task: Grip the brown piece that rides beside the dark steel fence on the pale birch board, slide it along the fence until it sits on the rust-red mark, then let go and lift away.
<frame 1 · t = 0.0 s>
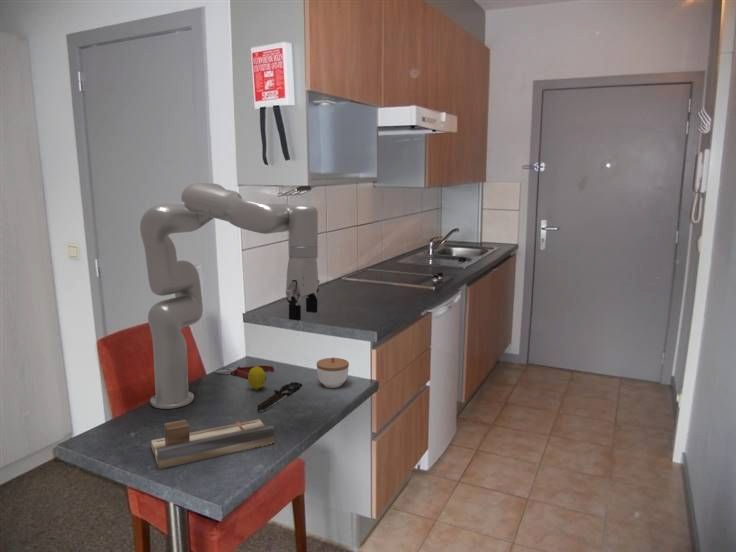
hand: (303, 315, 146), 31 cm above the table, tool pointing down, fingers open, 9 cm apart
lemon: (256, 390, 178), on the table
lidded jar: (332, 385, 183), on the table
pliers: (247, 375, 193), on the table
knife: (279, 399, 171), on the table
brown piece: (175, 432, 134), point 5 cm above the table, slide at -9.0 cm
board: (213, 445, 139), on the table
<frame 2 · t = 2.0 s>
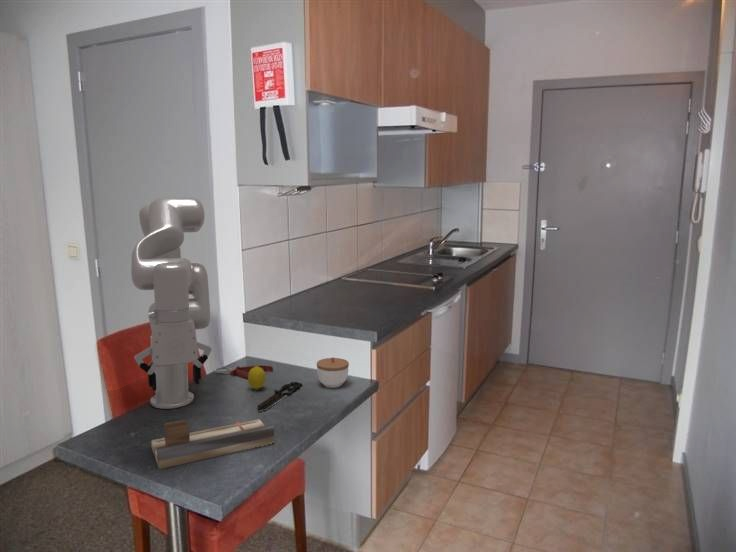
hand: (175, 385, 130), 18 cm above the table, tool pointing down, fingers open, 9 cm apart
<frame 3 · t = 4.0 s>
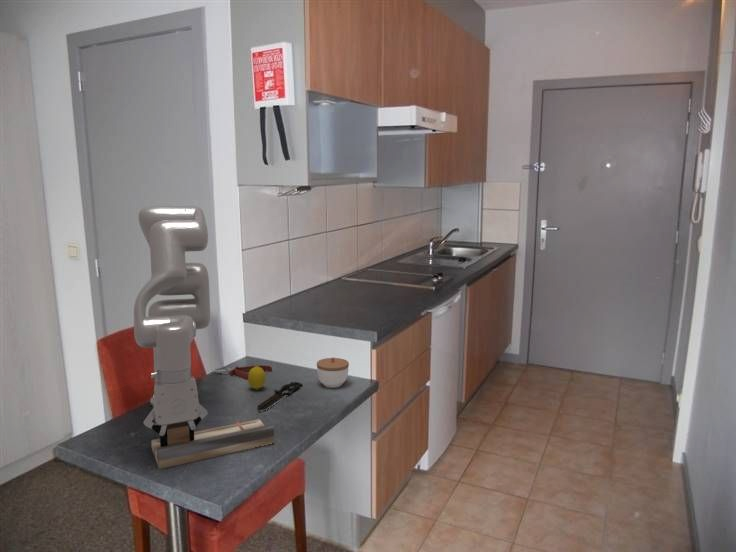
hand: (177, 445, 132), 3 cm above the table, tool pointing down, fingers closed on brown piece, 5 cm apart
brown piece: (175, 432, 134), point 5 cm above the table, slide at -9.0 cm, touching gripper
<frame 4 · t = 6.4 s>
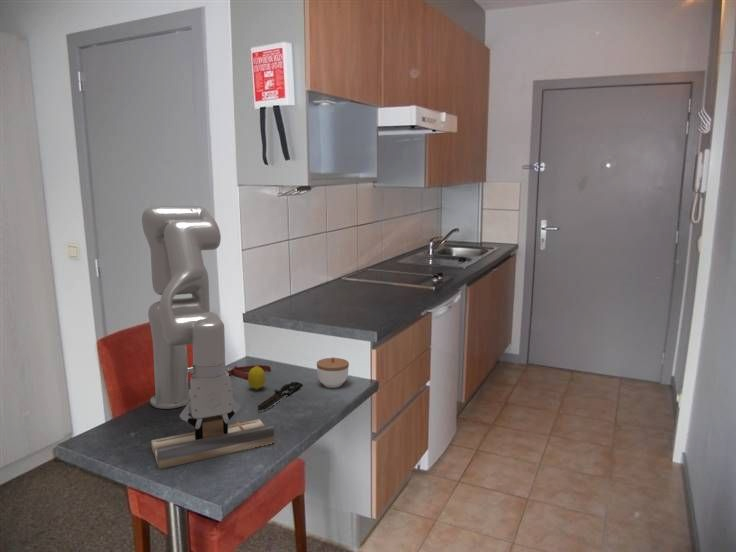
hand: (211, 438, 136), 3 cm above the table, tool pointing down, fingers closed on brown piece, 5 cm apart
brown piece: (209, 425, 138), point 5 cm above the table, slide at -0.8 cm, touching gripper
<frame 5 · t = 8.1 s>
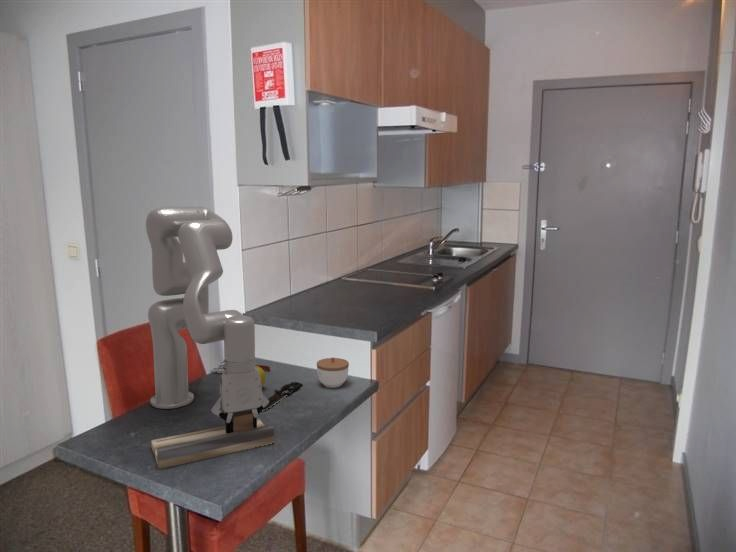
hand: (241, 432, 140), 3 cm above the table, tool pointing down, fingers closed on brown piece, 5 cm apart
brown piece: (238, 420, 142), point 5 cm above the table, slide at 6.8 cm, touching gripper
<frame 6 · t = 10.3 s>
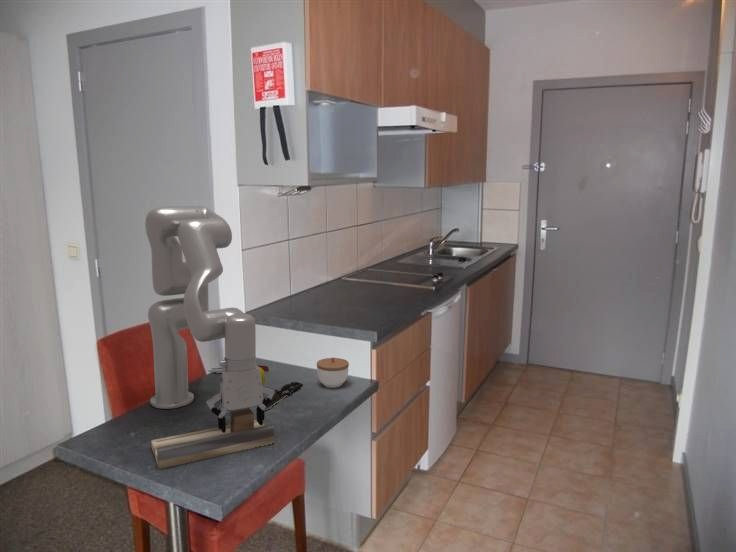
hand: (241, 426, 140), 4 cm above the table, tool pointing down, fingers open, 9 cm apart
brown piece: (239, 420, 142), point 5 cm above the table, slide at 7.0 cm
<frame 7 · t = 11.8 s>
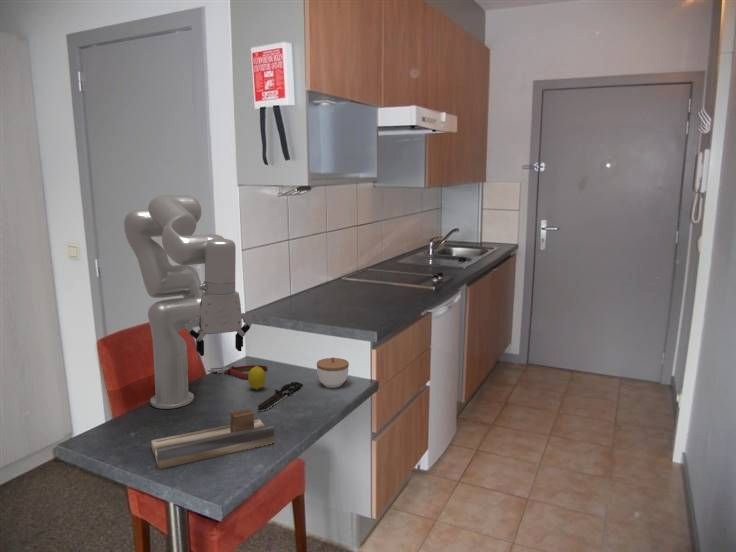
hand: (220, 352, 141), 23 cm above the table, tool pointing down, fingers open, 9 cm apart
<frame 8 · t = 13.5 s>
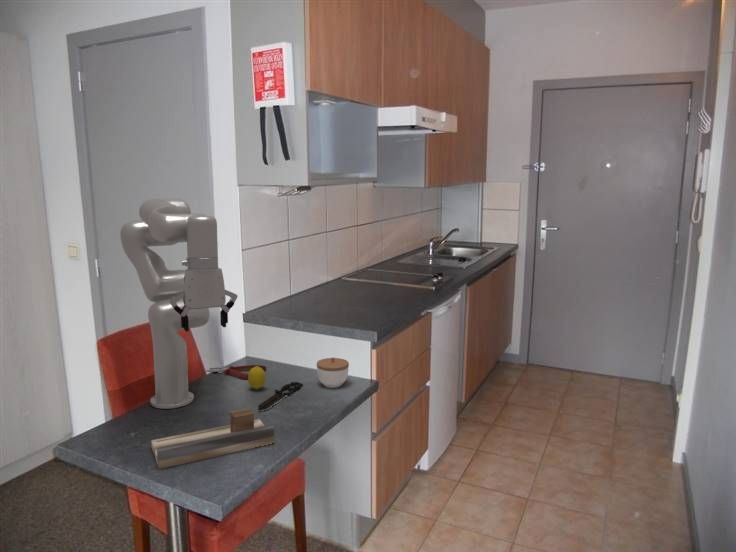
hand: (205, 328, 143), 28 cm above the table, tool pointing down, fingers open, 9 cm apart
at the end: brown piece slide at 7.0 cm; the gripper is holding nothing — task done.
